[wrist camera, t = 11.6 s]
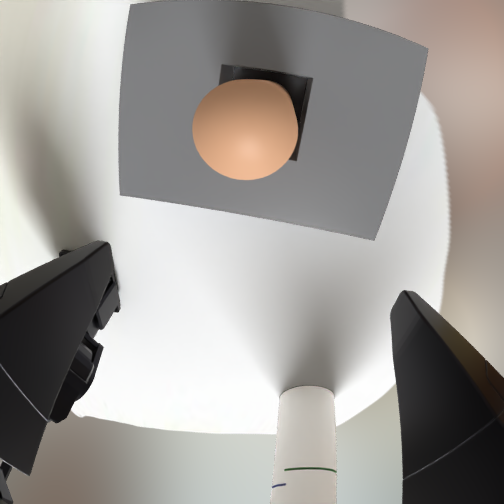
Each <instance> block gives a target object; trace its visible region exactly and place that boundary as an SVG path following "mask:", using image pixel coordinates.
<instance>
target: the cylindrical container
mask: <svg viewBox="0 0 504 504" xmlns="http://www.w3.org/2000/svg"><path fill="white" fill-rule="evenodd" d="M275 449H276V450H275V460H274V471H273V481H272V491H271V501H270V504H336V493H337V492H336V491H337V485H336V484H337V474H336V472H337V462H336V461H337V460H336V424H335V403H334V394H333V393H332V392H331V391H330V390H328V389H326V388H323V387H319V386H299V387H295V388H291V389H289V390H287V391H285V392H283V393H282V394H281V396H280V398H279V412H278V424H277V436H276V448H275Z"/></svg>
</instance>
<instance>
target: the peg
mask: <svg viewBox="0 0 504 504" xmlns="http://www.w3.org/2000/svg"><path fill="white" fill-rule="evenodd" d="M192 133H193V139H194V143H195V146H196V149H197V151H198V152H199V154H200V156H201V157H202V159H203V160H204V161H205V162H206V163H207V164H208V165H209V166H210V167H211V168H212V169H213V170H215V171H217V172H218V173H220V174H222V175H224V176H227V177H229V178H233V179H238V180H254V179H259V178H263V177H265V176H268V175H270V174H272V173H274V172H276V171H277V170H278V169H280V168H281V167H282V166H283V165H284V164H285V163H286V162H287V161H288V159H289V158H290V156H291V155H292V153H293V151H294V149H295V146H296V142H297V137H298V124H297V118H296V114H295V111H294V107H293V103H292V100H291V97H290V94H289V93H288V91H287V90H286V89H285V88H284V87H283V86H282V85H280V84H279V83H277V82H274V81H270V80H254V79H240V80H233V81H229V82H226V83H223V84H221V85H219V86H217V87H216V88H214V89H213V90H211V91H210V92H209V93H208V94H207V95H206V96H205V97H204V98H203V99H202V101H201V102H200V104H199V105H198V107H197V109H196V112H195V115H194V118H193V124H192Z"/></svg>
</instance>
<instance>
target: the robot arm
mask: <svg viewBox="0 0 504 504" xmlns="http://www.w3.org/2000/svg"><path fill="white" fill-rule="evenodd" d="M59 256H60V257H59V258H56V259H54V260H52V261H50V262H48V263H45V264H43V265H41V266H39V267H37V268H35V269H33V270H31V271H29V272H27V273H24V274H22V275H20V276H18V277H16V278H14V279H12V280H10V281H9V282H8V283H7V282H6V283H4V284H2V285H0V504H13V500H12V498H11V495H10V492H9V489H8V487H7V484H6V480H7V478H8V476H9V473H10V471H11V469H12V467H14V468H16V469H17V470H19V471H21V472H22V473H24V474H26V475H27V476H30V474H31V470H32V467H33V464H34V461H35V457H36V454H37V451H38V448H39V445H40V442H41V439H42V436H43V433H44V430H45V427H46V425H47V423H48V422H50V421H53V422H55V423H59V422H60V421H62V420H64V419H65V418H67V416H68V414H69V412H70V410H71V408H72V406H73V404H74V402H75V401H77V400H79V399H80V398H81V397H82V396H83V395H84V394H85V393H86V392H87V390H88V389H89V387H90V386H91V384H92V382H93V379H94V377H95V373H96V370H97V367H98V363H99V360H100V357H101V354H102V351H103V348H104V347H103V346H102V345H101V344H100V343H97V342H96V341H95V340H94V339H93V338H94V337H95V335H96V333H97V332H98V330H99V329H100V330H102V329H104V327H105V326H106V324H107V322H108V321H109V319H110V317H111V316H112V314H113V312H119V310H120V303H119V302H120V300H119V295H118V289H117V284H116V282H115V276H114V270H113V269H114V263H113V257H112V250H111V245H110V244H109V243H108V242H104V241H95V242H93V243H90V244H88V245H86V246H83V247H81V248H79V249H76V250H74V251H72V252H70V251H66V250H62V251H61V252H60V253H59ZM390 319H391V333H392V351H393V362H394V370H395V377H396V385H397V394H398V403H399V413H400V425H401V441H402V464H403V479H404V480H403V493H402V494H403V495H402V504H504V378H503V377H502V376H501V375H500V374H499V373H498V372H497V370H495V368H494V367H493V366H492V365H491V364H490V363H489V362H488V361H487V360H486V361H485V358H484V357H483V356H482V355H481V354H480V353H479V352H478V351H477V350H476V349H475V348H474V347H473V346H472V345H471V344H470V343H469V342H468V341H467V340H466V339H465V338H464V337H463V336H462V335H461V334H460V333H459V332H458V331H457V330H456V329H455V328H453V327H452V326H451V325H450V324H449V323H448V322H447V321H446V320H445V319H444V318H443V317H442V316H441V315H440V314H439V313H438V312H436V311H435V310H434V309H433V308H432V307H431V306H430V305H429V304H428V303H427V302H426V301H424V300H423V299H422V298H421V297H420V296H419V295H418V294H417V293H415V292H413V291H407V290H404V291H402V292H401V293H400V295H399V296H398V298H397V300H396V302H395V304H394V306H393V308H392V310H391V314H390Z"/></svg>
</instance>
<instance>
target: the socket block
mask: <svg viewBox="0 0 504 504" xmlns="http://www.w3.org/2000/svg"><path fill="white" fill-rule="evenodd" d="M427 53H428V48H426V47H424V46H421V45H419V44H417V43H415V42H412V41H410V40H407V39H405V38H402V37H400V36H397V35H395V34H392V33H389V32H386V31H384V30H381V29H378V28H375V27H372V26H369V25H365V24H362V23H359V22H356V21H352V20H349V19H345V18H341V17H337V16H333V15H329V14H325V13H321V12H316V11H311V10H306V9H301V8H295V7H289V6H283V5H276V4H268V3H259V2H248V1H234V0H171V1H157V2H147V3H138V4H130V10H129V16H128V22H127V29H126V36H125V44H124V52H123V62H122V73H121V86H120V103H119V187H120V195H122V196H129V197H136V198H143V199H150V200H156V201H163V202H170V203H176V204H182V205H189V206H195V207H201V208H207V209H213V210H219V211H225V212H231V213H236V214H242V215H248V216H253V217H259V218H264V219H270V220H275V221H280V222H286V223H291V224H296V225H301V226H306V227H311V228H316V229H321V230H326V231H331V232H336V233H341V234H346V235H350V236H355V237H360V238H365V239H369V240H375V238H376V235H377V232H378V230H379V227H380V224H381V222H382V219H383V216H384V214H385V211H386V208H387V205H388V202H389V199H390V197H391V194H392V191H393V188H394V185H395V182H396V178H397V175H398V172H399V169H400V166H401V163H402V159H403V156H404V152H405V149H406V146H407V142H408V138H409V135H410V131H411V127H412V123H413V120H414V116H415V112H416V107H417V103H418V99H419V95H420V90H421V85H422V80H423V76H424V71H425V65H426V60H427ZM235 67H239V68H247V69H255V70H262V71H269V72H275V73H281V74H287V75H293V76H298V77H303V78H308V80H307V86H306V91H305V96H304V101H303V107H302V112H301V117H300V122H299V127H298V137H297V142H296V146H295V149H294V151H293V153H292V155H291V156H290V158H289V159H288V161H287V162H286V163H285V164H284V165H283V166H282V167H281V168H280V169H278V170H277V171H276V172H274V173H272V174H270V175H268V176H265V177H263V178H259V179H254V180H238V179H233V178H229V177H227V176H224V175H222V174H220V173H218V172H217V171H215V170H213V169H212V168H211V167H210V166H209V165H208V164H207V163H206V162H205V161H204V160H203V159H202V157H201V156H200V154H199V152H198V151H197V149H196V146H195V143H194V139H193V133H192V124H193V118H194V115H195V112H196V109H197V107H198V105H199V104H200V102H201V101H202V99H203V98H204V97H205V96H206V95H207V94H208V93H209V92H210V91H211V90H213V89H214V88H216V87H217V86H219V85H221V84H223V83H226V82H229V81H233V75H234V68H235Z"/></svg>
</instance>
